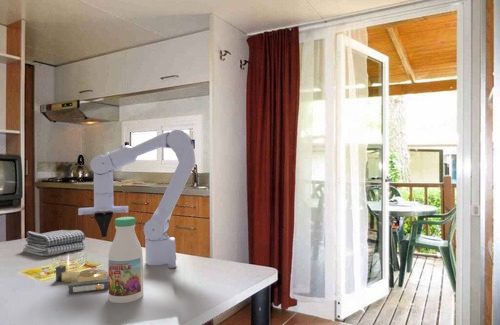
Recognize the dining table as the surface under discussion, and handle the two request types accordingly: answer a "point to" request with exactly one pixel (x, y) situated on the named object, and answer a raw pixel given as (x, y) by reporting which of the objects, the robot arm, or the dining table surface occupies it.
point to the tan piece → (79, 275)
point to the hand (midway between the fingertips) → (104, 236)
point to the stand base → (88, 286)
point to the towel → (54, 242)
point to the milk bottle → (125, 263)
